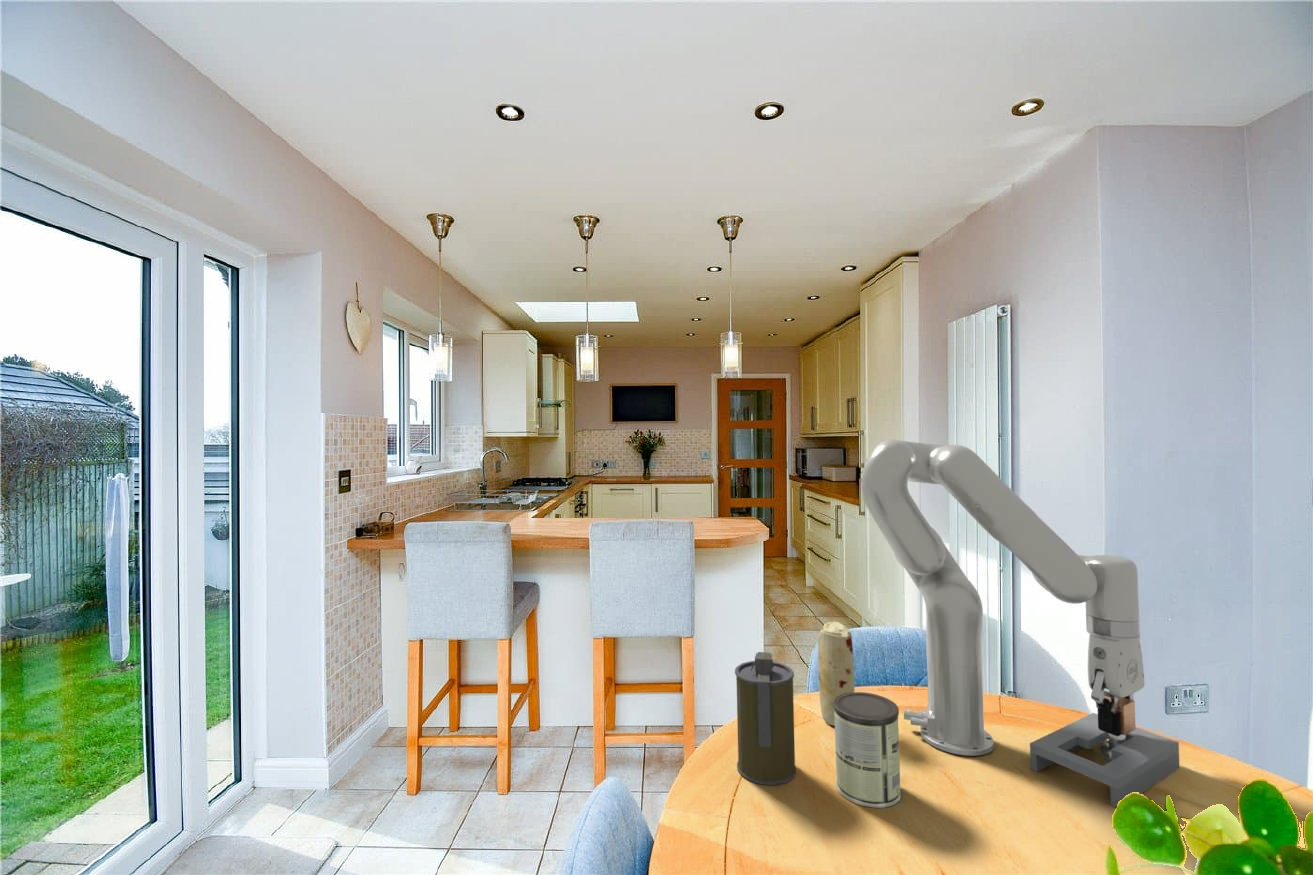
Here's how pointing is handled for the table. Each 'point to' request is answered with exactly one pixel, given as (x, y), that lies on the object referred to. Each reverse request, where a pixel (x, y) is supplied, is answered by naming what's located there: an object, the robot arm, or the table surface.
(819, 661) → the food model
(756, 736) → the canister
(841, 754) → the coffee can
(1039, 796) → the table surface
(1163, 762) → the keyhole board
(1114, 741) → the peg
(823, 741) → the table surface
